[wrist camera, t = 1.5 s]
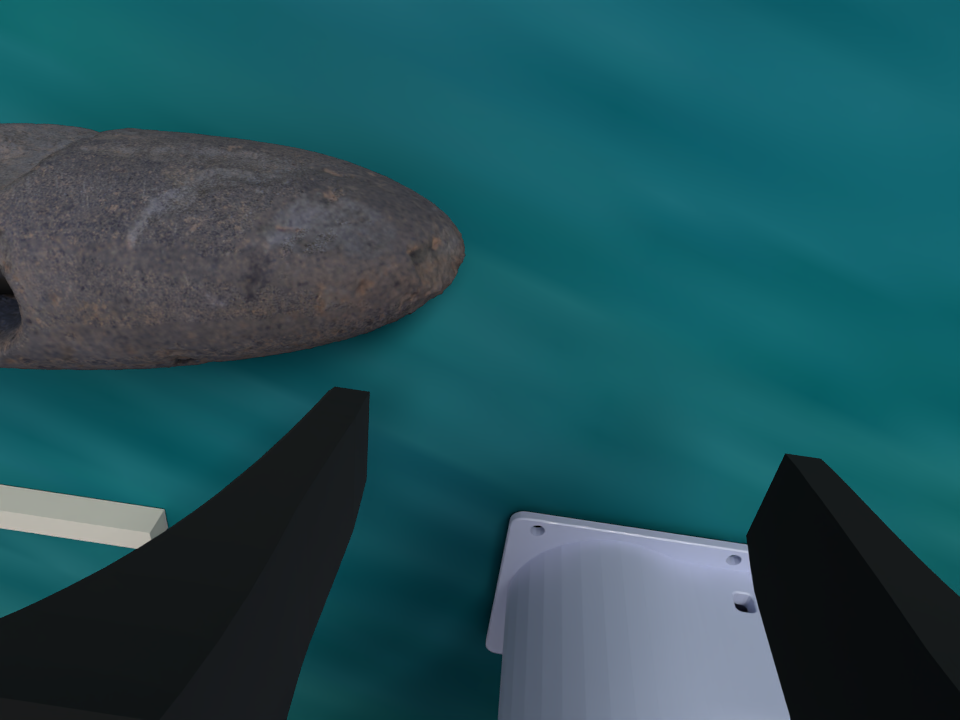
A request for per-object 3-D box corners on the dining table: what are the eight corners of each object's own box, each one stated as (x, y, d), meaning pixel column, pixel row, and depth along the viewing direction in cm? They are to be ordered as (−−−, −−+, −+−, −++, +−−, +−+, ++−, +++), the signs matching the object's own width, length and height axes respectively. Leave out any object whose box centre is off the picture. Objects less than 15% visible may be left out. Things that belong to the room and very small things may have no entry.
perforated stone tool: (480, 119, 18) (444, 228, 13) (472, 299, 21) (441, 454, 15) (-80, 82, 19) (-356, 168, 13) (-12, 261, 22) (-214, 395, 16)
